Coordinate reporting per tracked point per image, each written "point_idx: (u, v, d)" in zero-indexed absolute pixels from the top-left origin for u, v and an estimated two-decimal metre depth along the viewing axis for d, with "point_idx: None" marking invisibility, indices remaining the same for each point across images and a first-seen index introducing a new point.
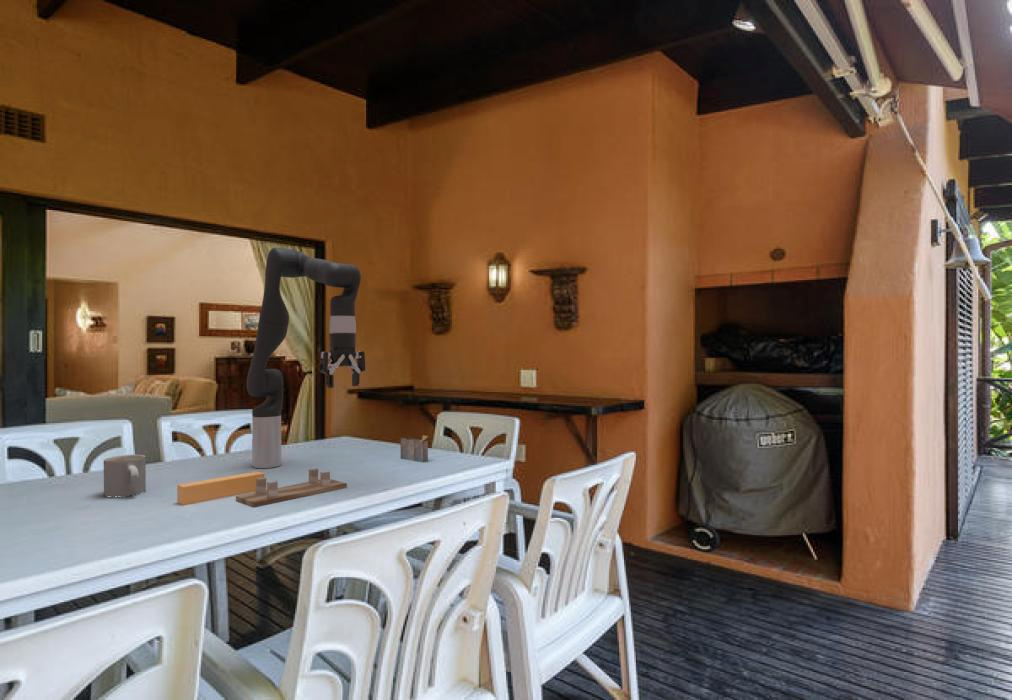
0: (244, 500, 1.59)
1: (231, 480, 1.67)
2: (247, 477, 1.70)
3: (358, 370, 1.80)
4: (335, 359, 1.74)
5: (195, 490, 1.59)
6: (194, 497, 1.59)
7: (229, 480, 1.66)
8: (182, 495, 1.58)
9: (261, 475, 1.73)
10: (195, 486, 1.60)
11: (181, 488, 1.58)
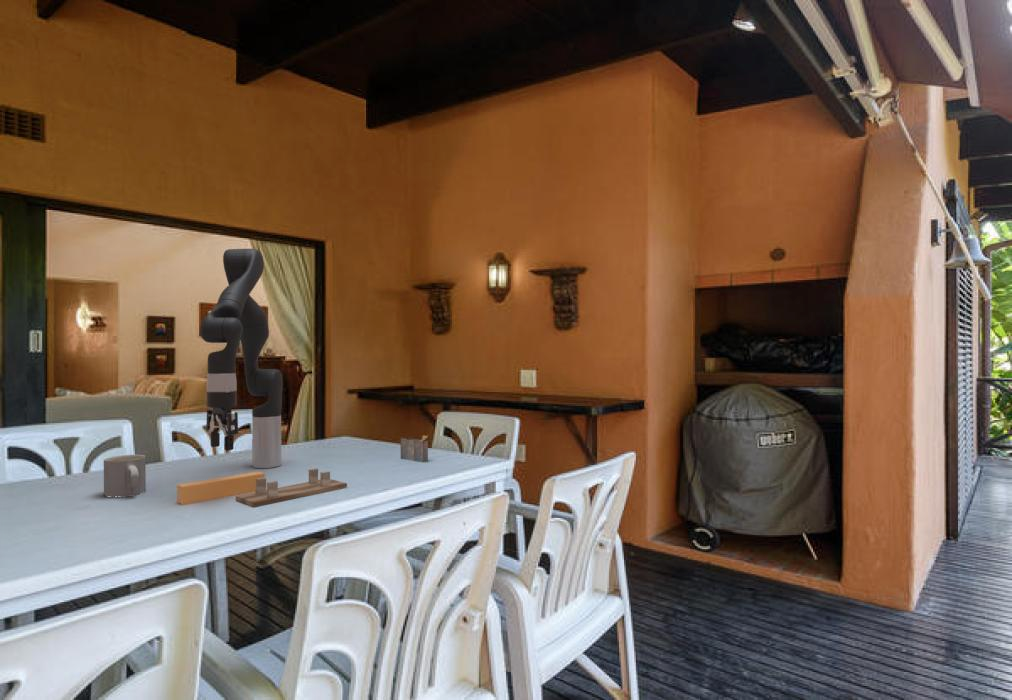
0: (244, 500, 1.59)
1: (231, 480, 1.67)
2: (247, 477, 1.70)
3: None
4: None
5: (194, 490, 1.60)
6: (194, 497, 1.60)
7: (229, 480, 1.66)
8: (181, 495, 1.58)
9: (261, 475, 1.73)
10: (194, 486, 1.60)
11: (181, 488, 1.58)
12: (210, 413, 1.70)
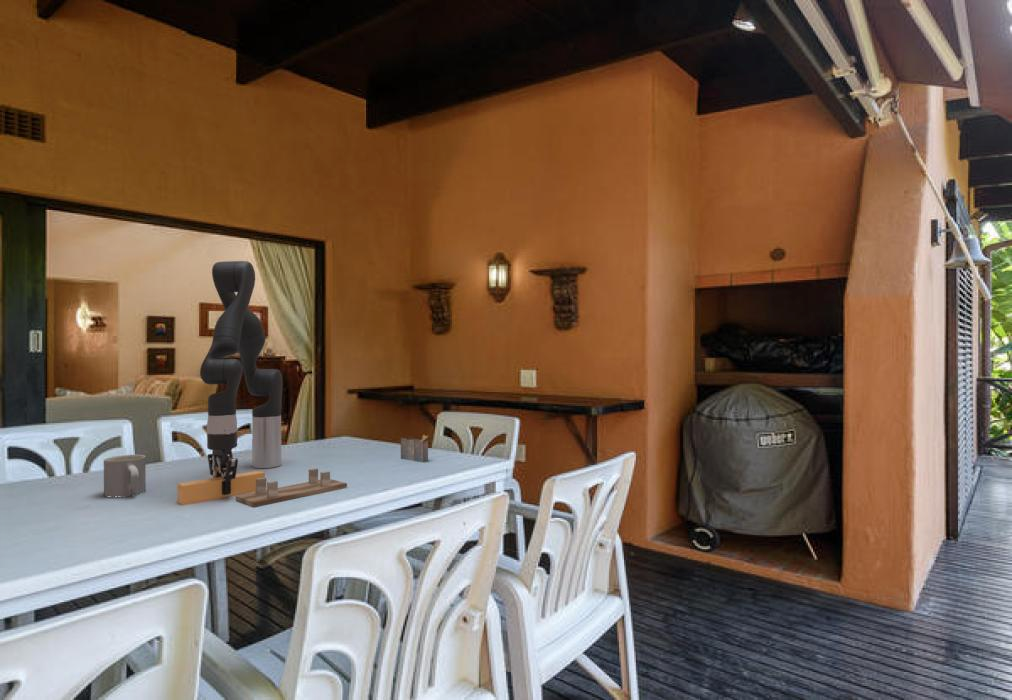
0: (244, 500, 1.59)
1: None
2: (248, 476, 1.70)
3: None
4: None
5: (194, 489, 1.60)
6: (194, 496, 1.59)
7: None
8: (182, 494, 1.58)
9: (261, 474, 1.73)
10: (195, 485, 1.60)
11: (181, 487, 1.58)
12: (211, 457, 1.70)
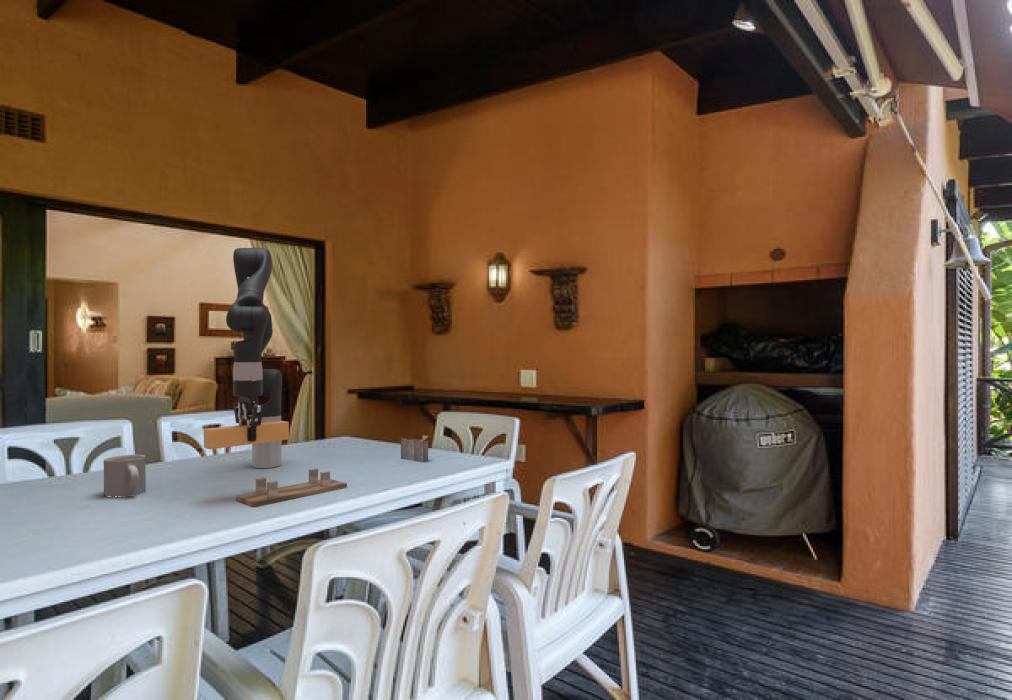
0: (244, 500, 1.59)
1: None
2: (272, 425, 1.70)
3: None
4: None
5: (221, 434, 1.60)
6: (220, 441, 1.60)
7: None
8: (209, 438, 1.58)
9: (286, 423, 1.73)
10: (221, 430, 1.60)
11: (208, 431, 1.58)
12: (237, 405, 1.70)
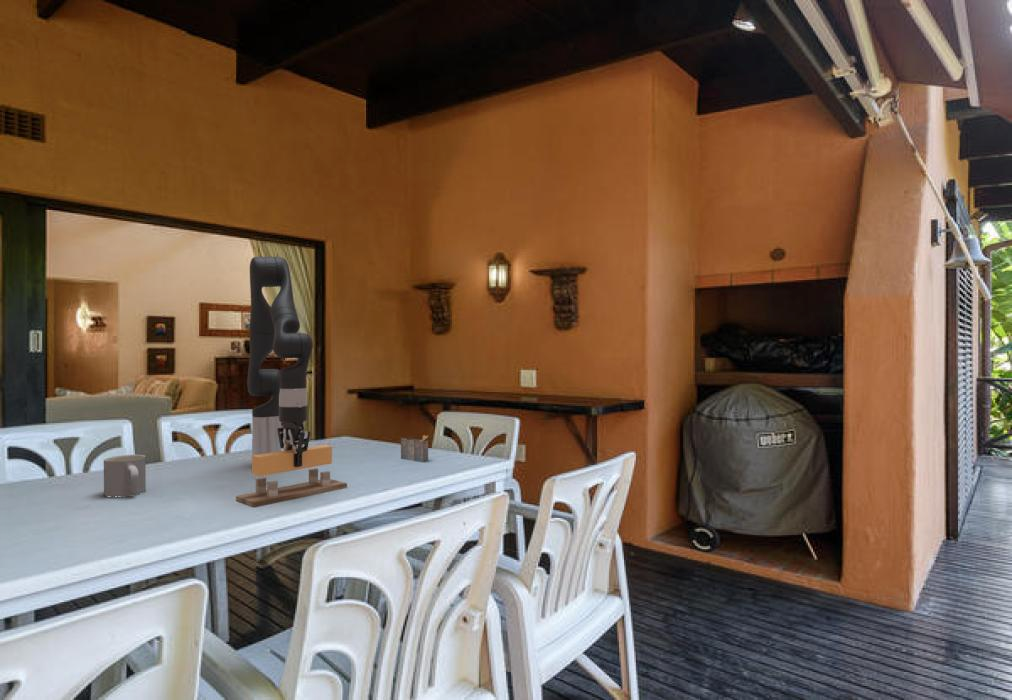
0: (244, 500, 1.59)
1: None
2: (317, 450, 1.72)
3: None
4: None
5: (269, 460, 1.61)
6: (269, 468, 1.61)
7: None
8: (258, 465, 1.60)
9: (329, 448, 1.75)
10: (270, 457, 1.61)
11: (257, 458, 1.60)
12: (281, 430, 1.72)
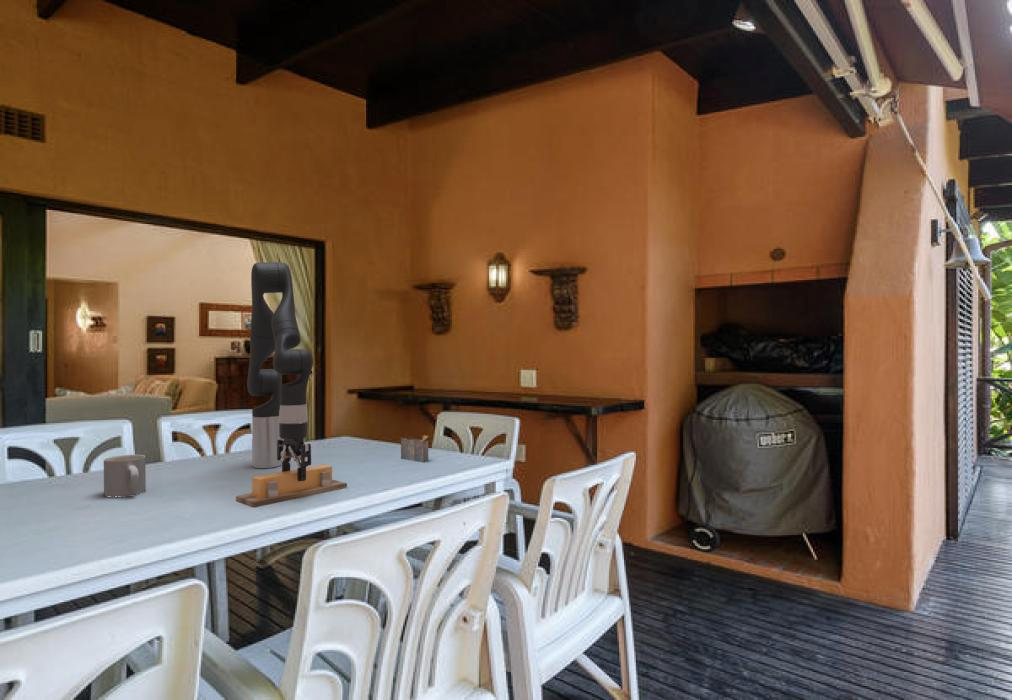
0: (244, 500, 1.59)
1: None
2: (317, 470, 1.72)
3: None
4: None
5: None
6: None
7: None
8: (258, 487, 1.60)
9: (329, 468, 1.75)
10: (270, 478, 1.62)
11: (257, 480, 1.60)
12: (281, 443, 1.72)
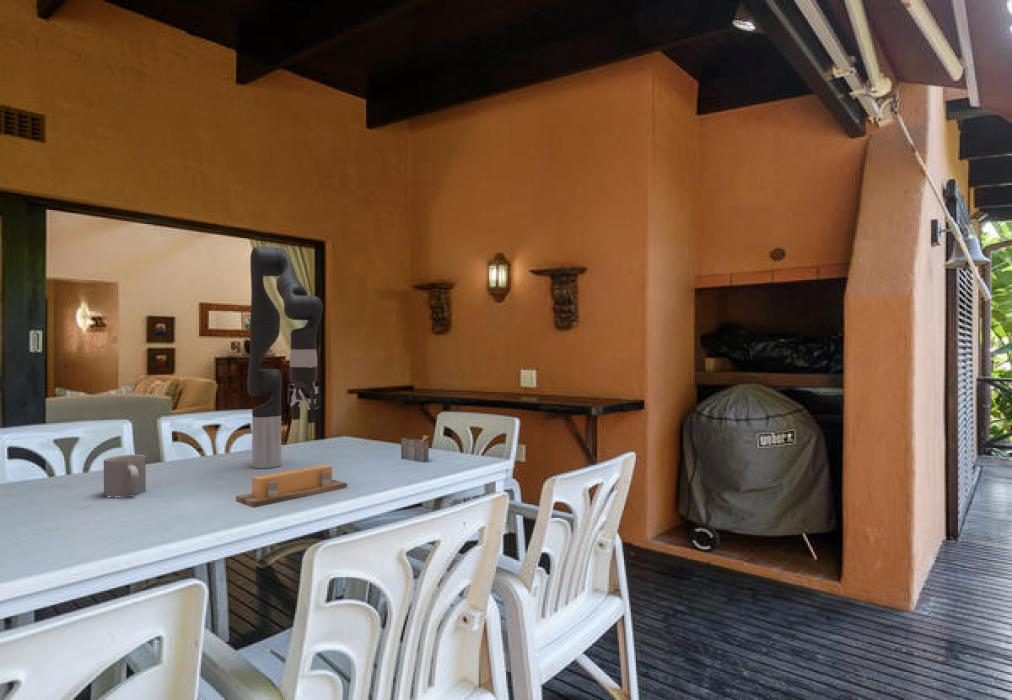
0: (244, 500, 1.59)
1: (302, 473, 1.69)
2: (317, 470, 1.72)
3: None
4: None
5: None
6: None
7: (300, 473, 1.68)
8: (258, 487, 1.60)
9: (329, 468, 1.75)
10: (270, 478, 1.62)
11: (257, 480, 1.60)
12: (291, 387, 1.77)
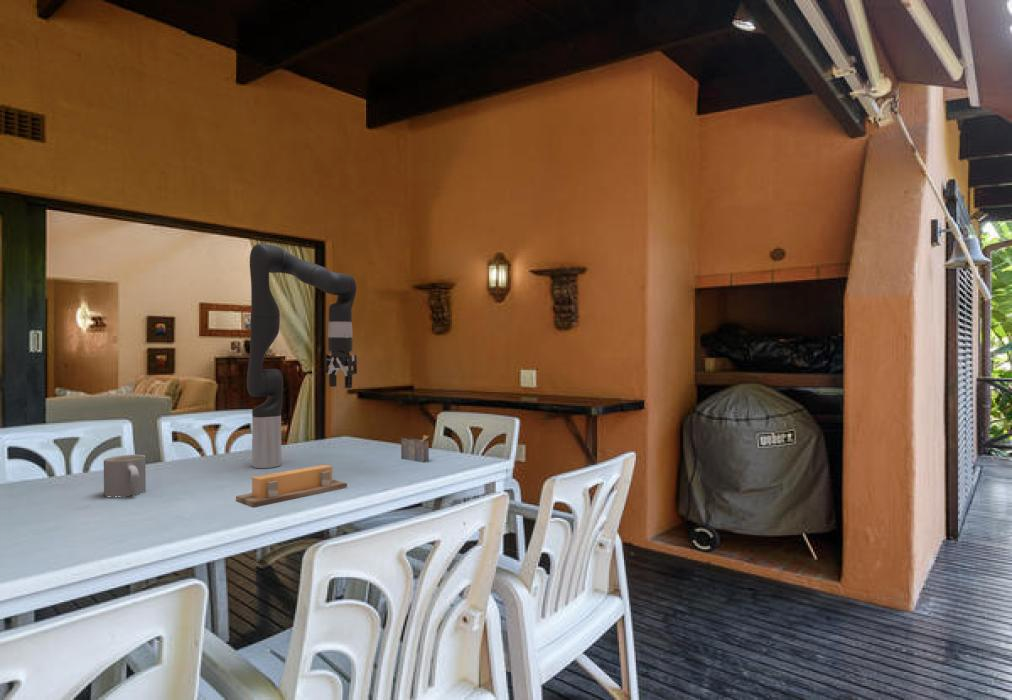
0: (244, 500, 1.59)
1: (302, 473, 1.69)
2: (317, 470, 1.72)
3: None
4: None
5: None
6: None
7: (300, 473, 1.68)
8: (258, 487, 1.60)
9: (329, 468, 1.75)
10: (270, 478, 1.62)
11: (257, 480, 1.60)
12: (328, 357, 1.95)
